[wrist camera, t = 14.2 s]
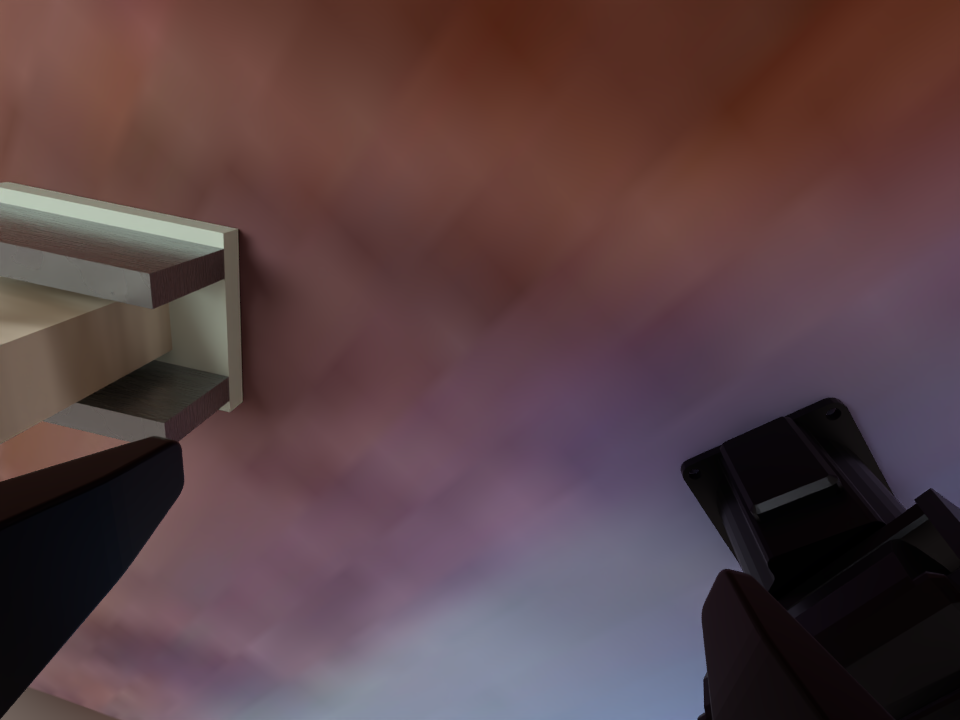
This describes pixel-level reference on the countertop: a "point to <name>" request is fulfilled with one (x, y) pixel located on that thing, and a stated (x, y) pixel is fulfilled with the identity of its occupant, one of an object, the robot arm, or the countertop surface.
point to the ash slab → (67, 348)
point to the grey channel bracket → (137, 302)
